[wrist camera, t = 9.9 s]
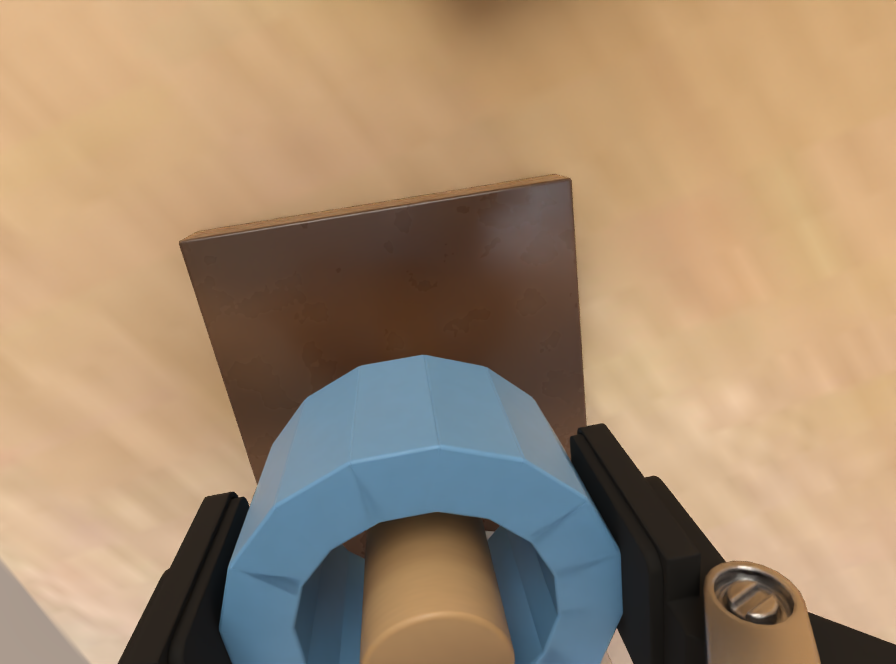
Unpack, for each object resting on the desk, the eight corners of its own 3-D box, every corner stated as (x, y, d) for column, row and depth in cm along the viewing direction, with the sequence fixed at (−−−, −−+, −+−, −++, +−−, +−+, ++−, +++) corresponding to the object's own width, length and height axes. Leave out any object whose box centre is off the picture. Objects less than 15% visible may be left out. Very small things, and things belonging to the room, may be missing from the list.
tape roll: (229, 387, 11) (162, 496, 8) (550, 331, 12) (617, 412, 8) (306, 628, 14) (280, 791, 10) (571, 576, 14) (628, 716, 11)
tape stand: (194, 231, 16) (-134, 408, 6) (556, 173, 17) (823, 244, 7) (348, 725, 24) (320, 1166, 14) (592, 676, 25) (738, 1067, 14)
